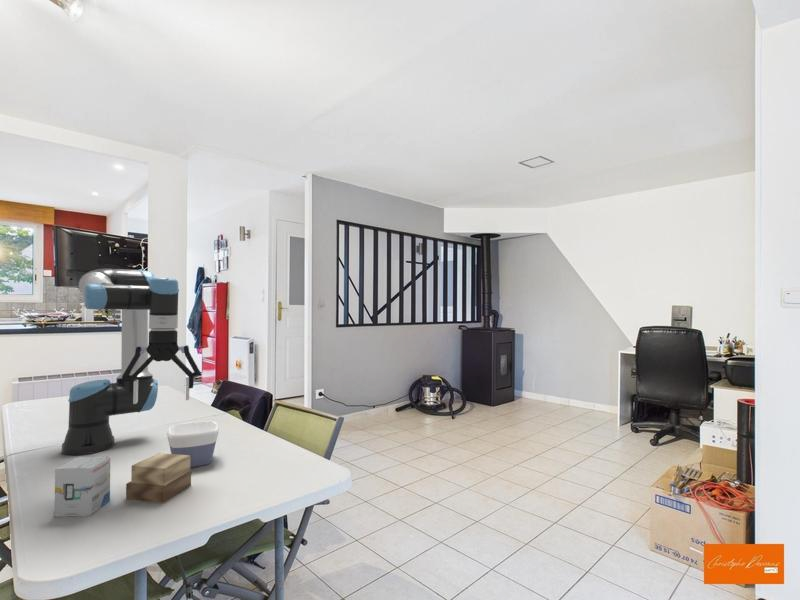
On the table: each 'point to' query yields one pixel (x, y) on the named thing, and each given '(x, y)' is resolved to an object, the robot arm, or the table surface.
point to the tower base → (157, 490)
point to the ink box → (82, 486)
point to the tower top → (160, 469)
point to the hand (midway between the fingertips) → (162, 401)
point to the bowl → (194, 441)
